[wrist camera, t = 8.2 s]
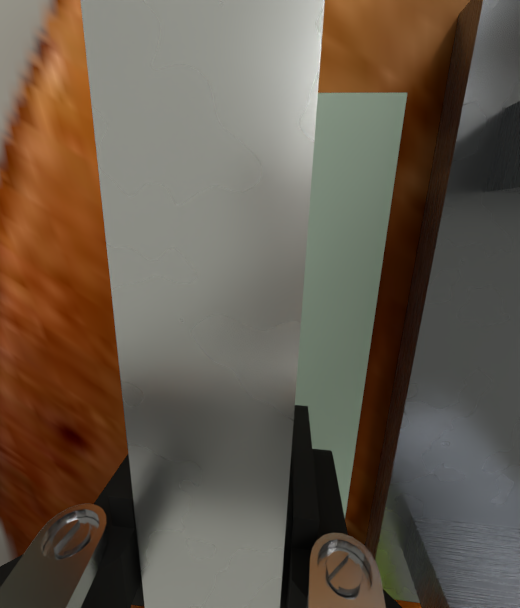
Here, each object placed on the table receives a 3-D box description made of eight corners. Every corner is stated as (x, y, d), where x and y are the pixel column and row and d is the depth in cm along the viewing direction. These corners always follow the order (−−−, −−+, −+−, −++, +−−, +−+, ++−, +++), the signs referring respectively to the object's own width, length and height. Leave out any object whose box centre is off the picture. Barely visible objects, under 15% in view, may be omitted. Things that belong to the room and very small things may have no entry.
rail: (152, -124, 5) (36, -418, 3) (325, -136, 5) (359, -468, 3) (193, 727, 12) (170, 850, 10) (266, 740, 12) (260, 870, 10)
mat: (139, 99, 12) (131, 93, 11) (401, 99, 11) (407, 92, 10) (170, 545, 18) (166, 556, 18) (334, 567, 18) (336, 578, 17)
